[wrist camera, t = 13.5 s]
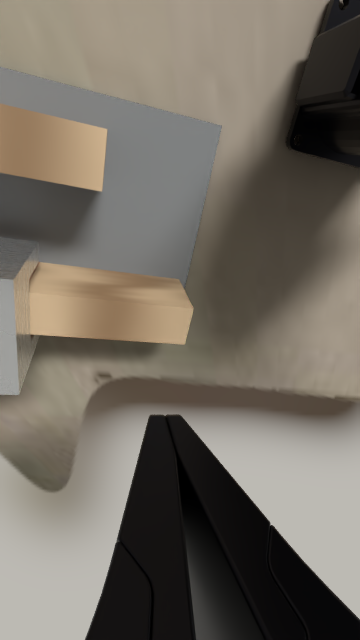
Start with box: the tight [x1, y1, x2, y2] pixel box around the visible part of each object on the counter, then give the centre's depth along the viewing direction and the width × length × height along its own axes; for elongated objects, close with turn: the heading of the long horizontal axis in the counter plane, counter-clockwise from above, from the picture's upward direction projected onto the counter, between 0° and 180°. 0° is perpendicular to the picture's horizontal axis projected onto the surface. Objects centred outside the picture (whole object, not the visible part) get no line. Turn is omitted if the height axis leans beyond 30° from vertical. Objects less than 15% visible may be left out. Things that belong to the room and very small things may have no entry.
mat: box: [0, 67, 222, 290], centre depth 17 cm, size 14×12×1 cm
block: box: [0, 104, 194, 345], centre depth 14 cm, size 14×10×6 cm
